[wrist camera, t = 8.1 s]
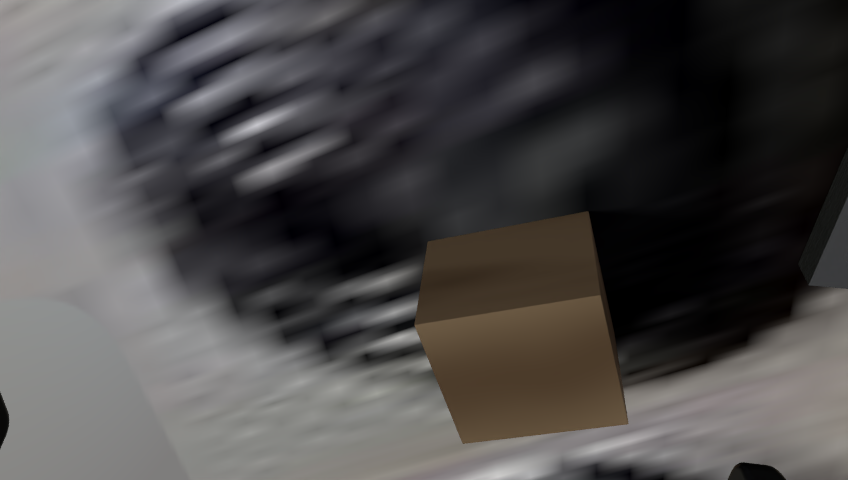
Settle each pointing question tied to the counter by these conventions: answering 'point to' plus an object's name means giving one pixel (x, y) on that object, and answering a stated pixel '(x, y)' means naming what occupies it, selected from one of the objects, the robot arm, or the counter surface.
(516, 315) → the walnut block
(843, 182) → the cup bracket
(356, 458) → the counter surface
